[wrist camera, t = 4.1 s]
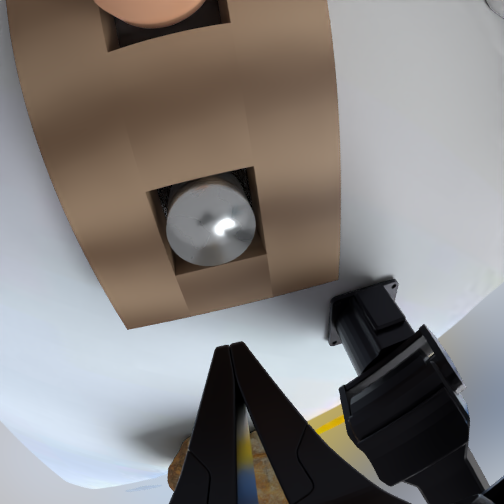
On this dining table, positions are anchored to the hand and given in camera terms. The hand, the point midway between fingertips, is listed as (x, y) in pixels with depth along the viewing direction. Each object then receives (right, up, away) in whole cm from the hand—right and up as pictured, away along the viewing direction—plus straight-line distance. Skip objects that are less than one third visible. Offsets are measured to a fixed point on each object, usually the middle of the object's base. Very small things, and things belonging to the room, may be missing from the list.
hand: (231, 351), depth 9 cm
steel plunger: (-2, +6, +9) cm, 11 cm away
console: (-3, +11, +5) cm, 12 cm away
